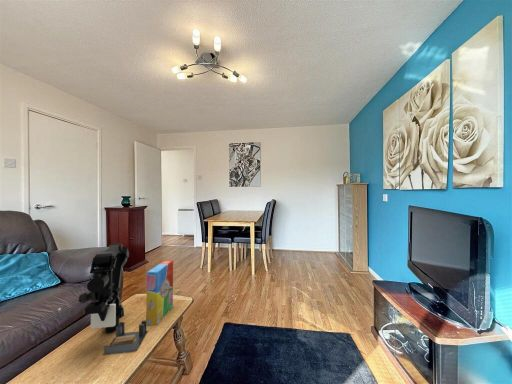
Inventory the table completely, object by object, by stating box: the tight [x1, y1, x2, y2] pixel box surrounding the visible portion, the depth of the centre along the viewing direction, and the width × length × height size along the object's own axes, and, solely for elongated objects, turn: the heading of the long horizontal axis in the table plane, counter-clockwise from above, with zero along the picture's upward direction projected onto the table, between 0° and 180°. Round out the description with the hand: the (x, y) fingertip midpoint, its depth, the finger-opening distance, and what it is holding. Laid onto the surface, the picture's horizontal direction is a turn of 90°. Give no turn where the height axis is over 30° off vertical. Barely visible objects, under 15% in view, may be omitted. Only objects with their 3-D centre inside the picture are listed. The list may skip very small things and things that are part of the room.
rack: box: [102, 319, 149, 356], centre depth 98 cm, size 14×13×6 cm
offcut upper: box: [113, 335, 135, 345], centre depth 95 cm, size 3×7×2 cm, turn 104°
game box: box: [145, 259, 174, 327], centre depth 121 cm, size 21×6×27 cm, turn 179°
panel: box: [90, 304, 116, 329], centre depth 96 cm, size 1×9×9 cm, turn 99°
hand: (103, 319), depth 96 cm, fingers closed on panel, 1 cm apart
